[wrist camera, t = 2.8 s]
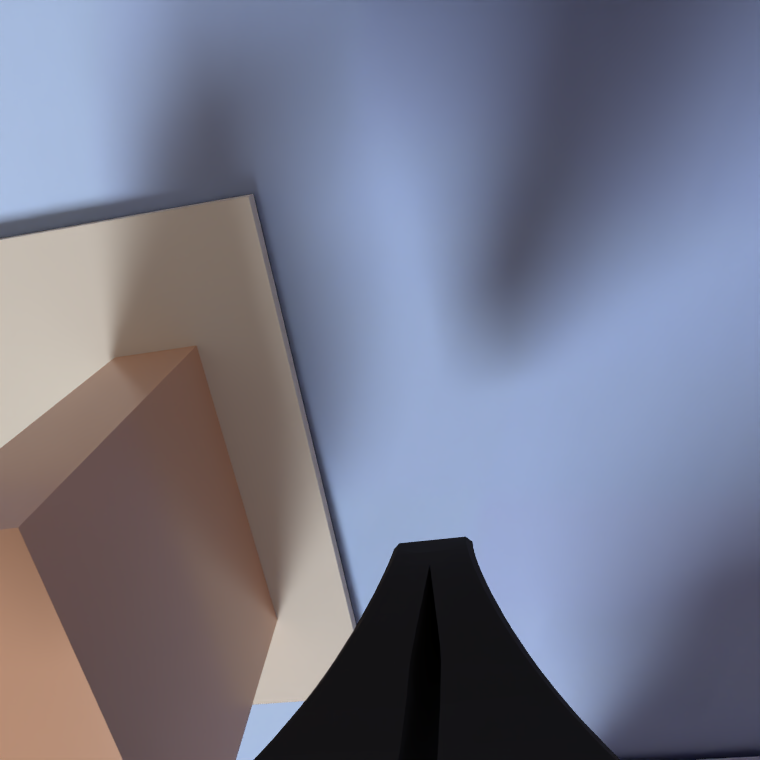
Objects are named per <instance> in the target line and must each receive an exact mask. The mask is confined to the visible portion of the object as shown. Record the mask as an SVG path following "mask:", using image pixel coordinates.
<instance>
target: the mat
mask: <svg viewBox="0 0 760 760" xmlns="http://www.w3.org/2000/svg"><path fill="white" fill-rule="evenodd" d="M196 345H197V348H198V352H199V355H200V359H201V362H202V365H203V369H204V372H205V376H206V379H207V382H208V386H209V389H210V393H211V396H212V399H213V403H214V406H215V410H216V413H217V416H218V420H219V423H220V427H221V430H222V433H223V437H224V440H225V444H226V447H227V450H228V454H229V457H230V461H231V464H232V467H233V471H234V474H235V478H236V481H237V484H238V488H239V491H240V495H241V498H242V501H243V505H244V508H245V511H246V515H247V518H248V522H249V525H250V528H251V532H252V535H253V539H254V542H255V545H256V549H257V552H258V556H259V559H260V562H261V566H262V569H263V573H264V576H265V579H266V583H267V586H268V590H269V593H270V596H271V600H272V603H273V607H274V610H275V613H276V617H277V623H276V627H275V630H274V633H273V637H272V640H271V643H270V647H269V650H268V654H267V657H266V660H265V664H264V667H263V670H262V674H261V677H260V680H259V684H258V687H257V690H256V694H255V697H254V700H253V704H252V705H254V704H268V703H282V702H296V701H305V700H306V699H307V698H308V697H309V695H310V694H311V693H312V691H313V690H314V689H315V688H316V686H317V685H318V683H319V682H320V681H321V679H322V678H323V677H324V675H325V674H326V672H327V671H328V669H329V668H330V667H331V665H332V664H333V662H334V661H335V659H336V658H337V656H338V654H339V653H340V651H341V650H342V648H343V646H344V645H345V643H346V642H347V640H348V639H349V637H350V635H351V634H352V632H353V631H354V629H355V627H356V622H355V618H354V614H353V610H352V606H351V601H350V597H349V593H348V589H347V585H346V580H345V576H344V572H343V568H342V564H341V559H340V555H339V551H338V547H337V543H336V539H335V534H334V530H333V526H332V522H331V518H330V513H329V509H328V505H327V501H326V497H325V492H324V488H323V484H322V480H321V476H320V471H319V467H318V463H317V459H316V455H315V451H314V446H313V442H312V438H311V434H310V430H309V425H308V421H307V417H306V413H305V409H304V404H303V400H302V396H301V392H300V388H299V384H298V379H297V375H296V371H295V367H294V363H293V358H292V354H291V350H290V346H289V342H288V337H287V333H286V329H285V325H284V321H283V316H282V312H281V308H280V304H279V300H278V296H277V291H276V287H275V283H274V279H273V275H272V270H271V266H270V262H269V258H268V254H267V249H266V245H265V241H264V237H263V233H262V229H261V224H260V220H259V216H258V212H257V208H256V203H255V199H254V195H253V194H249V195H244V196H238V197H232V198H227V199H221V200H215V201H210V202H204V203H198V204H193V205H187V206H181V207H176V208H170V209H164V210H159V211H153V212H148V213H142V214H136V215H131V216H125V217H119V218H114V219H108V220H102V221H97V222H91V223H85V224H80V225H74V226H68V227H63V228H57V229H51V230H46V231H40V232H35V233H29V234H23V235H18V236H12V237H6V238H1V239H0V448H1V447H3V446H4V445H5V444H6V443H8V442H9V441H10V440H11V439H13V438H14V437H15V436H16V435H18V434H19V433H20V432H21V431H23V430H24V429H25V428H27V427H28V426H29V425H30V424H32V423H33V422H34V421H35V420H37V419H38V418H39V417H40V416H42V415H43V414H44V413H45V412H47V411H48V410H49V409H50V408H52V407H53V406H54V405H55V404H57V403H58V402H59V401H61V400H62V399H63V398H64V397H66V396H67V395H68V394H69V393H71V392H72V391H73V390H74V389H76V388H77V387H78V386H79V385H81V384H82V383H83V382H84V381H86V380H87V379H88V378H90V377H91V376H92V375H93V374H95V373H96V372H97V371H98V370H100V369H101V368H102V367H103V366H105V365H106V364H107V363H108V362H110V361H111V360H112V359H113V358H115V357H121V356H128V355H135V354H142V353H149V352H155V351H162V350H169V349H176V348H183V347H189V346H196Z"/></svg>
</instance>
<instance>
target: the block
mask: <svg viewBox="0 0 760 760" xmlns="http://www.w3.org/2000/svg"><path fill="white" fill-rule="evenodd" d="M276 623H277V617H276V613H275V610H274V607H273V603H272V600H271V596H270V593H269V590H268V586H267V583H266V579H265V576H264V573H263V569H262V566H261V562H260V559H259V556H258V552H257V549H256V545H255V542H254V539H253V535H252V532H251V528H250V525H249V522H248V518H247V515H246V511H245V508H244V505H243V501H242V498H241V495H240V491H239V488H238V484H237V481H236V478H235V474H234V471H233V467H232V464H231V461H230V457H229V454H228V450H227V447H226V444H225V440H224V437H223V433H222V430H221V427H220V423H219V420H218V416H217V413H216V410H215V406H214V403H213V399H212V396H211V393H210V389H209V386H208V382H207V379H206V376H205V372H204V369H203V365H202V362H201V359H200V355H199V352H198V348H197V345H196V346H189V347H183V348H176V349H169V350H162V351H155V352H149V353H142V354H135V355H128V356H121V357H115V358H113V359H112V360H111V361H110V362H108V363H107V364H106V365H105V366H103V367H102V368H101V369H100V370H98V371H97V372H96V373H95V374H93V375H92V376H91V377H90V378H88V379H87V380H86V381H84V382H83V383H82V384H81V385H79V386H78V387H77V388H76V389H74V390H73V391H72V392H71V393H69V394H68V395H67V396H66V397H64V398H63V399H62V400H61V401H59V402H58V403H57V404H55V405H54V406H53V407H52V408H50V409H49V410H48V411H47V412H45V413H44V414H43V415H42V416H40V417H39V418H38V419H37V420H35V421H34V422H33V423H32V424H30V425H29V426H28V427H27V428H25V429H24V430H23V431H21V432H20V433H19V434H18V435H16V436H15V437H14V438H13V439H11V440H10V441H9V442H8V443H6V444H5V445H4V446H3V447H1V448H0V760H236V757H237V754H238V751H239V747H240V744H241V741H242V737H243V734H244V731H245V727H246V724H247V721H248V717H249V714H250V710H251V707H252V704H253V700H254V697H255V694H256V690H257V687H258V684H259V680H260V677H261V674H262V670H263V667H264V664H265V660H266V657H267V654H268V650H269V647H270V643H271V640H272V637H273V633H274V630H275V627H276Z"/></svg>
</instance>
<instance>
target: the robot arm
mask: <svg viewBox="0 0 760 760" xmlns="http://www.w3.org/2000/svg"><path fill="white" fill-rule="evenodd" d="M254 760H620V759H619V758H618V757H617V756H616V755H615V754H614V753H613V752H612V751H611V750H610V749H609V748H608V747H607V746H606V745H605V744H604V743H603V742H602V741H601V739H600V738H599V737H598V736H597V735H596V734H595V733H594V732H593V731H592V730H591V729H590V728H589V727H588V726H587V725H586V724H585V723H584V722H583V721H582V720H581V719H580V718H579V716H578V715H577V714H576V713H575V712H574V711H573V710H572V708H571V707H570V706H569V705H568V704H567V702H566V701H565V700H564V699H563V698H562V697H561V695H560V694H559V693H558V692H557V691H556V689H555V688H554V687H553V686H552V684H551V683H550V682H549V680H548V679H547V678H546V677H545V675H544V674H543V673H542V672H541V670H540V669H539V667H538V666H537V665H536V663H535V662H534V661H533V659H532V658H531V656H530V655H529V654H528V652H527V651H526V649H525V648H524V646H523V645H522V643H521V642H520V640H519V639H518V637H517V636H516V634H515V633H514V631H513V630H512V628H511V626H510V625H509V623H508V622H507V620H506V618H505V617H504V615H503V613H502V611H501V609H500V608H499V606H498V604H497V602H496V601H495V599H494V597H493V595H492V593H491V591H490V589H489V587H488V585H487V583H486V581H485V579H484V577H483V574H482V572H481V570H480V567H479V565H478V562H477V559H476V557H475V553H474V549H473V543H472V541H471V540H469V539H468V538H466V537H458V538H448V539H439V540H429V541H419V542H409V543H399V544H398V546H397V547H396V548H395V549H394V551H393V554H392V556H391V559H390V561H389V563H388V566H387V568H386V570H385V572H384V574H383V577H382V579H381V581H380V583H379V585H378V587H377V589H376V591H375V593H374V595H373V597H372V598H371V600H370V602H369V604H368V606H367V608H366V609H365V611H364V613H363V615H362V617H361V619H360V620H359V622H358V624H357V626H356V627H355V629H354V631H353V632H352V634H351V635H350V637H349V639H348V640H347V642H346V643H345V645H344V646H343V648H342V650H341V651H340V653H339V654H338V656H337V658H336V659H335V661H334V662H333V664H332V665H331V667H330V668H329V669H328V671H327V672H326V674H325V675H324V677H323V678H322V679H321V681H320V682H319V683H318V685H317V686H316V688H315V689H314V690H313V691H312V693H311V694H310V695H309V697H308V698H307V699H306V700H305V702H304V703H303V704H302V706H301V707H300V708H299V709H298V711H297V712H296V713H295V714H294V715H293V716H292V718H291V719H290V720H289V721H288V722H287V723H286V725H285V726H284V727H283V728H282V729H281V730H280V732H279V733H278V734H277V735H276V736H275V737H274V739H273V740H272V741H271V742H270V743H269V744H268V745H267V746H266V747H265V748H264V749H263V750H262V752H261V753H260V754H259V755H258V756H257V757H256V758H255V759H254ZM698 760H760V756H754V757H735V758H717V759H698Z"/></svg>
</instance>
